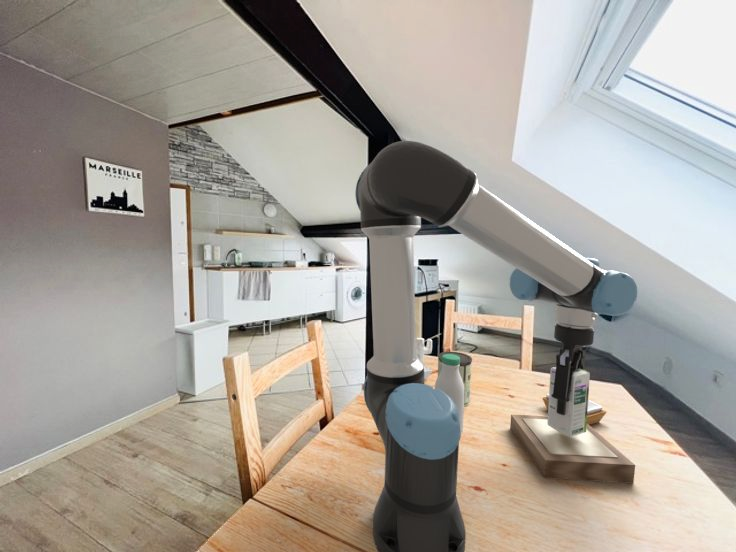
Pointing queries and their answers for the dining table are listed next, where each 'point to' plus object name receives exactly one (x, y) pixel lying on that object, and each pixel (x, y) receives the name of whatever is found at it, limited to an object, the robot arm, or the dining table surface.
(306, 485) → the dining table surface
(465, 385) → the coffee can
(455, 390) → the milk bottle
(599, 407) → the soap dish
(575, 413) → the syrup box
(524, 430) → the pedestal
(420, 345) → the figurine
